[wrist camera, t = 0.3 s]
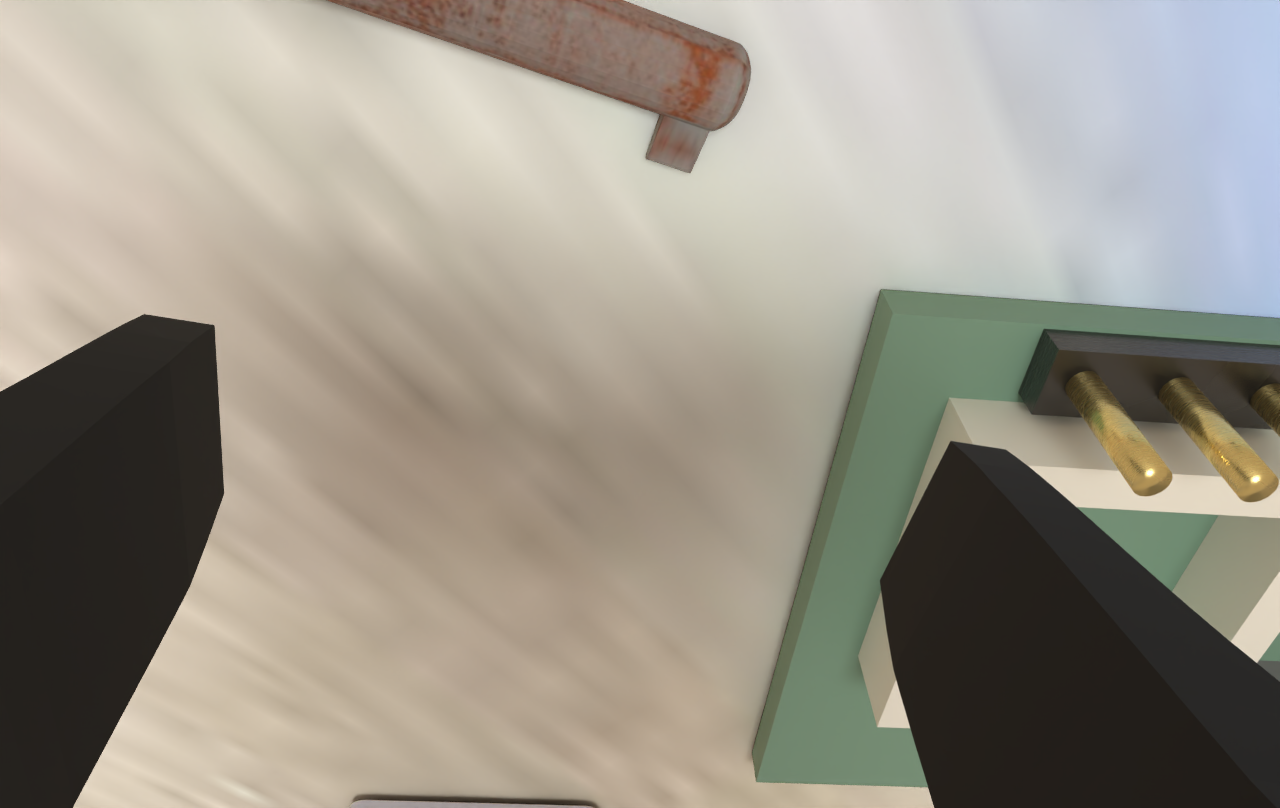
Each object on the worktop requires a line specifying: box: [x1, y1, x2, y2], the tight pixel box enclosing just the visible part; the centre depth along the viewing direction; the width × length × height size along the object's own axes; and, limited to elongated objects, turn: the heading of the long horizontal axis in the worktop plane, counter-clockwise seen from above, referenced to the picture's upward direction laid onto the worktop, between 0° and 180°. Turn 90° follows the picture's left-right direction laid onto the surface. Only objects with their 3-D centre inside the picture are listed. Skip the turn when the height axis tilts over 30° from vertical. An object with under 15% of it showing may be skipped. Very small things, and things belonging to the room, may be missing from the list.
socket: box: [858, 398, 1280, 728], centre depth 22 cm, size 8×8×2 cm
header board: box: [752, 289, 1280, 787], centre depth 25 cm, size 16×17×1 cm
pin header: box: [1018, 329, 1280, 502], centre depth 18 cm, size 2×6×4 cm, turn 84°
